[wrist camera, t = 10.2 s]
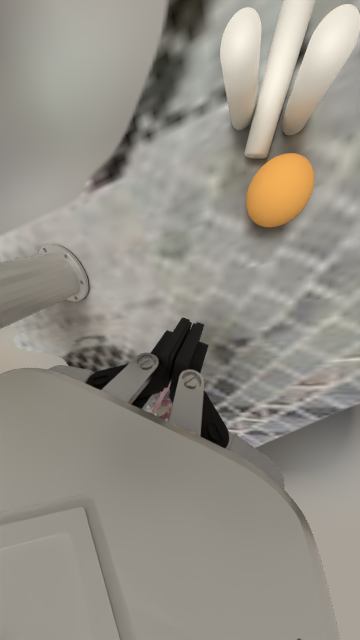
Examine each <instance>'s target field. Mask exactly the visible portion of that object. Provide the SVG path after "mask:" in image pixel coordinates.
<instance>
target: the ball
mask: <svg viewBox="0 0 360 640" xmlns="http://www.w3.org/2000/svg"><path fill="white" fill-rule="evenodd" d="M313 186H314V171H313V168H312V165H311V164H310V162H309V161H308V160H307V159H306V158H305V157H303V156H302V155H299V154H295V153H287V154H282V155H279V156H277V157H275V158H273V159H271V160H270V161H268V162H267V163H266V164H264V165H263V166H262V167H261V168H260V170H259V171H258V172H257V173H256V175H255V176H254V178H253V179H252V181H251V183H250V186H249V188H248V192H247V197H246V207H247V211H248V214H249V216H250V218H251V219H252V220H253V221H254V222H255V223H256V224H258V225H260V226H263V227H276V226H280V225H283V224H285V223H287V222H288V221H290V220H292V219H293V218H294V217H295V216H296V215H298V214H299V213H300V211H301V210H302V209H303V208H304V206H305V205H306V204H307V202H308V200H309V198H310V196H311V193H312V190H313Z"/></svg>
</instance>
